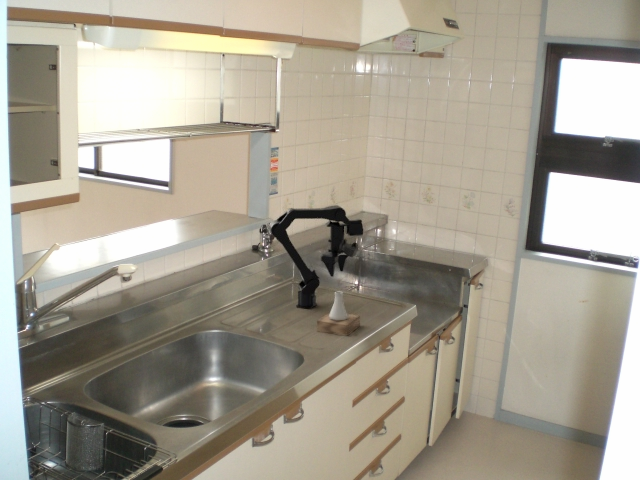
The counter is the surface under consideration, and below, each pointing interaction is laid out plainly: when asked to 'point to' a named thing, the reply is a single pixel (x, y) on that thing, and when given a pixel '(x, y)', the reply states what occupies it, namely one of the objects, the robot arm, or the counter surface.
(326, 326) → the walnut block
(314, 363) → the counter surface
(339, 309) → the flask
